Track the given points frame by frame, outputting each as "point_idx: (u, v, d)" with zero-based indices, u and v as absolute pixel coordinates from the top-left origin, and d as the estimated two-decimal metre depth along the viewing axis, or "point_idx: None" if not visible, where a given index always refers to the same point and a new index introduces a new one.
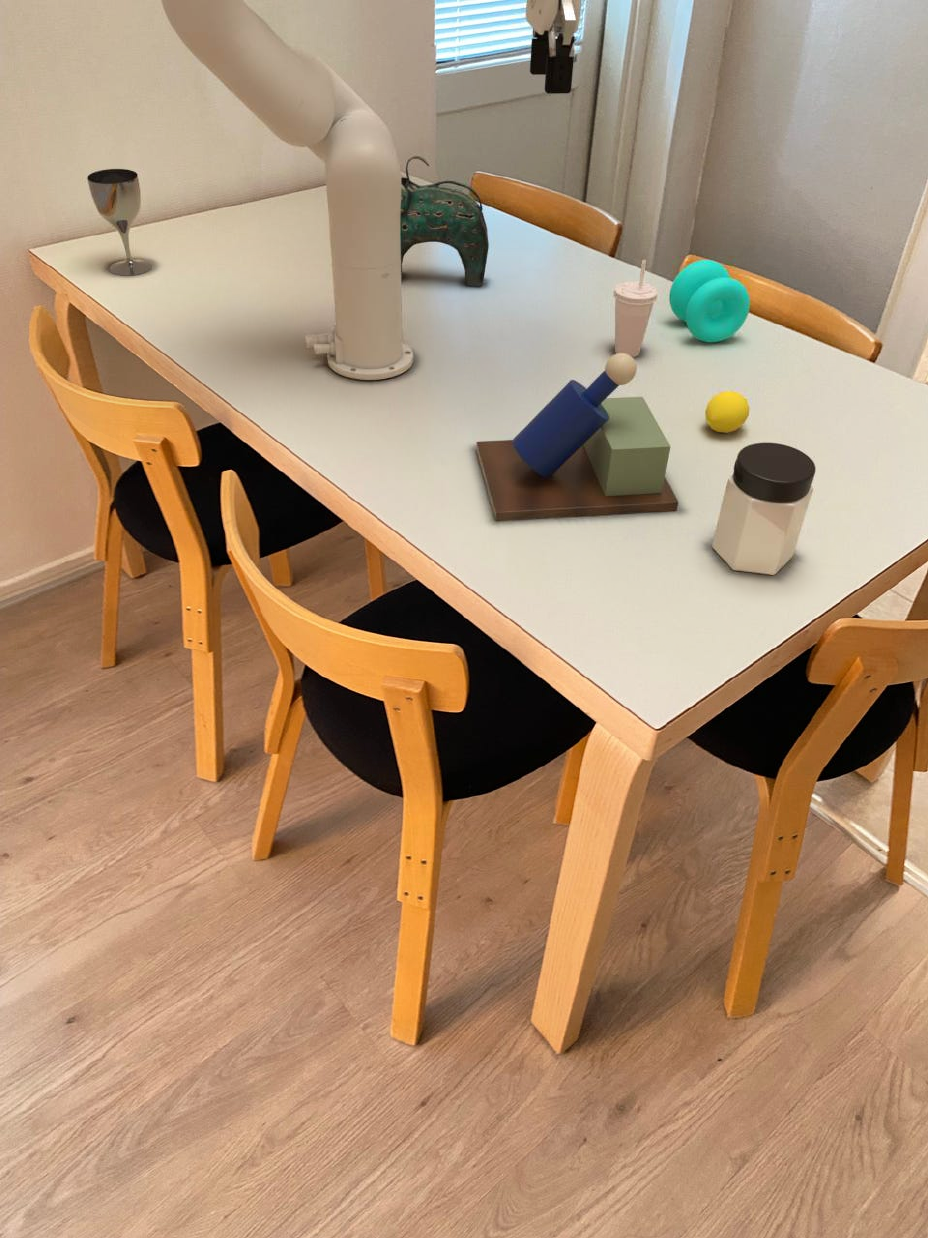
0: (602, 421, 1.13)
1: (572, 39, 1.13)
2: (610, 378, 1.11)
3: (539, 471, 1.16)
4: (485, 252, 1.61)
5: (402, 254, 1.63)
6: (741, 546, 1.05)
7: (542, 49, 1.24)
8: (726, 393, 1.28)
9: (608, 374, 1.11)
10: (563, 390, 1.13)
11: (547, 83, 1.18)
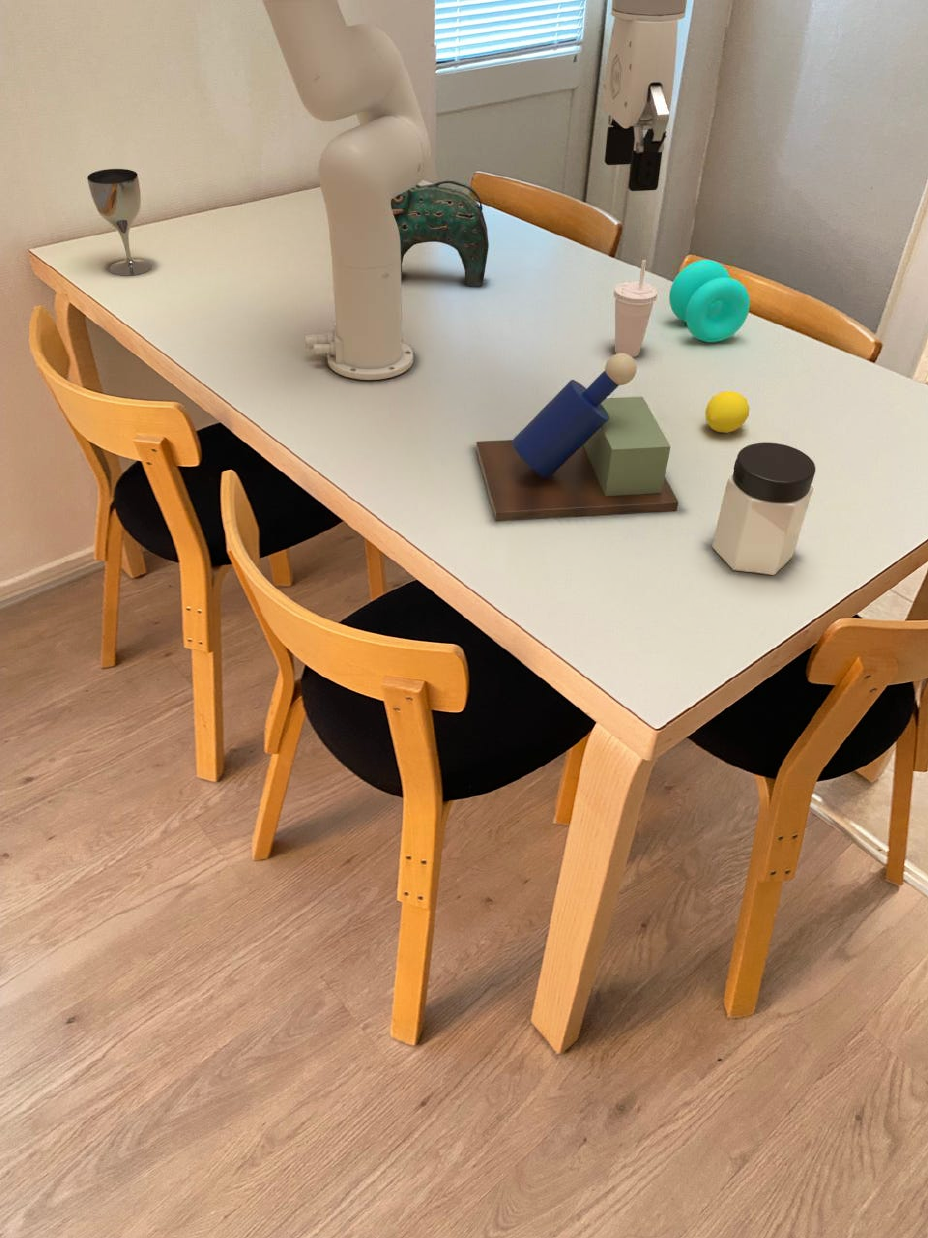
0: (602, 421, 1.13)
1: (663, 135, 1.00)
2: (610, 378, 1.11)
3: (539, 471, 1.16)
4: (485, 252, 1.61)
5: (402, 254, 1.63)
6: (741, 546, 1.05)
7: (619, 138, 1.11)
8: (726, 393, 1.28)
9: (608, 374, 1.11)
10: (563, 390, 1.13)
11: (632, 180, 1.05)
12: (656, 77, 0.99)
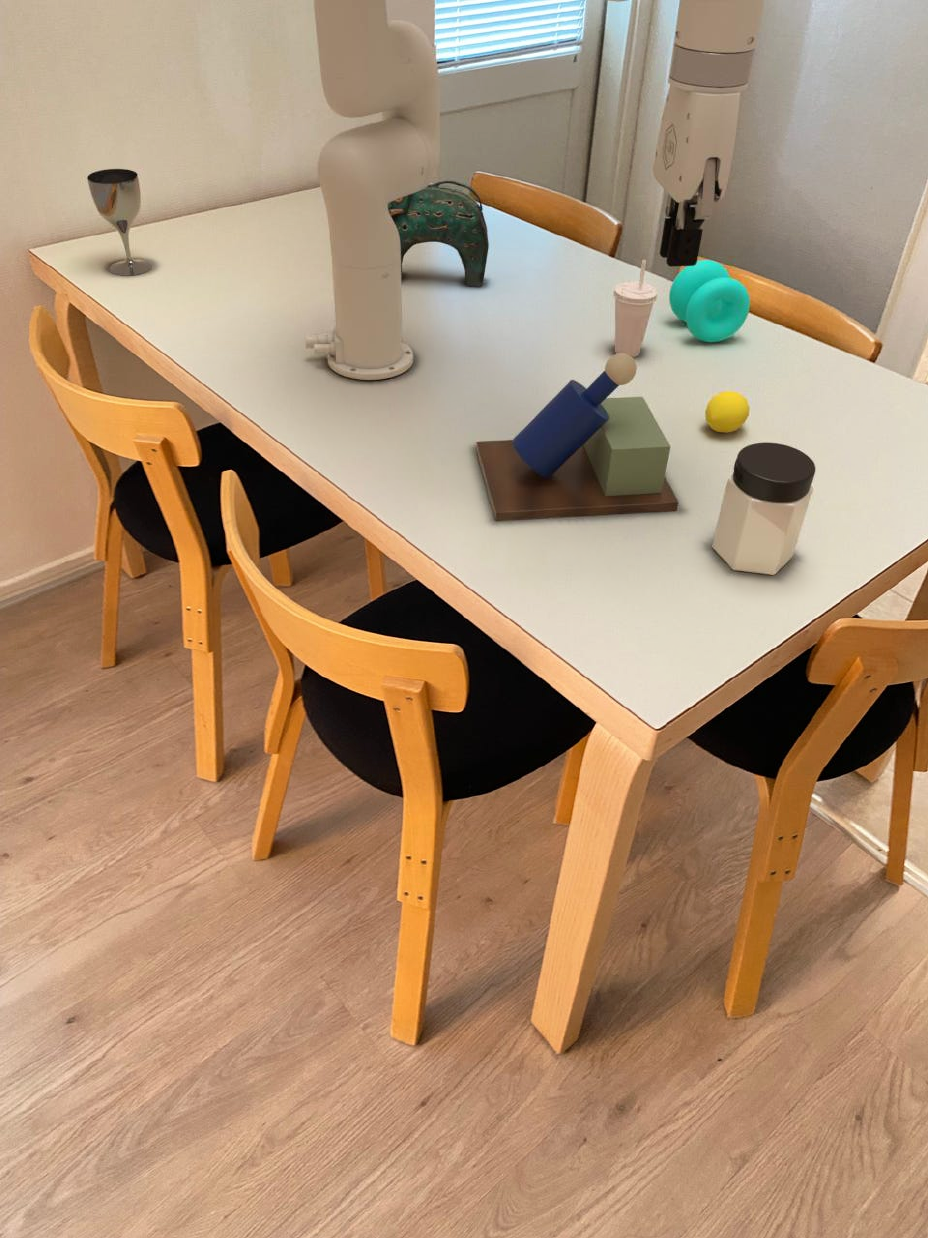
0: (602, 421, 1.13)
1: None
2: (610, 378, 1.11)
3: (539, 471, 1.16)
4: (485, 252, 1.61)
5: (402, 254, 1.63)
6: (741, 546, 1.05)
7: None
8: (726, 393, 1.28)
9: (608, 374, 1.11)
10: (563, 390, 1.13)
11: (670, 256, 1.02)
12: (714, 152, 0.92)
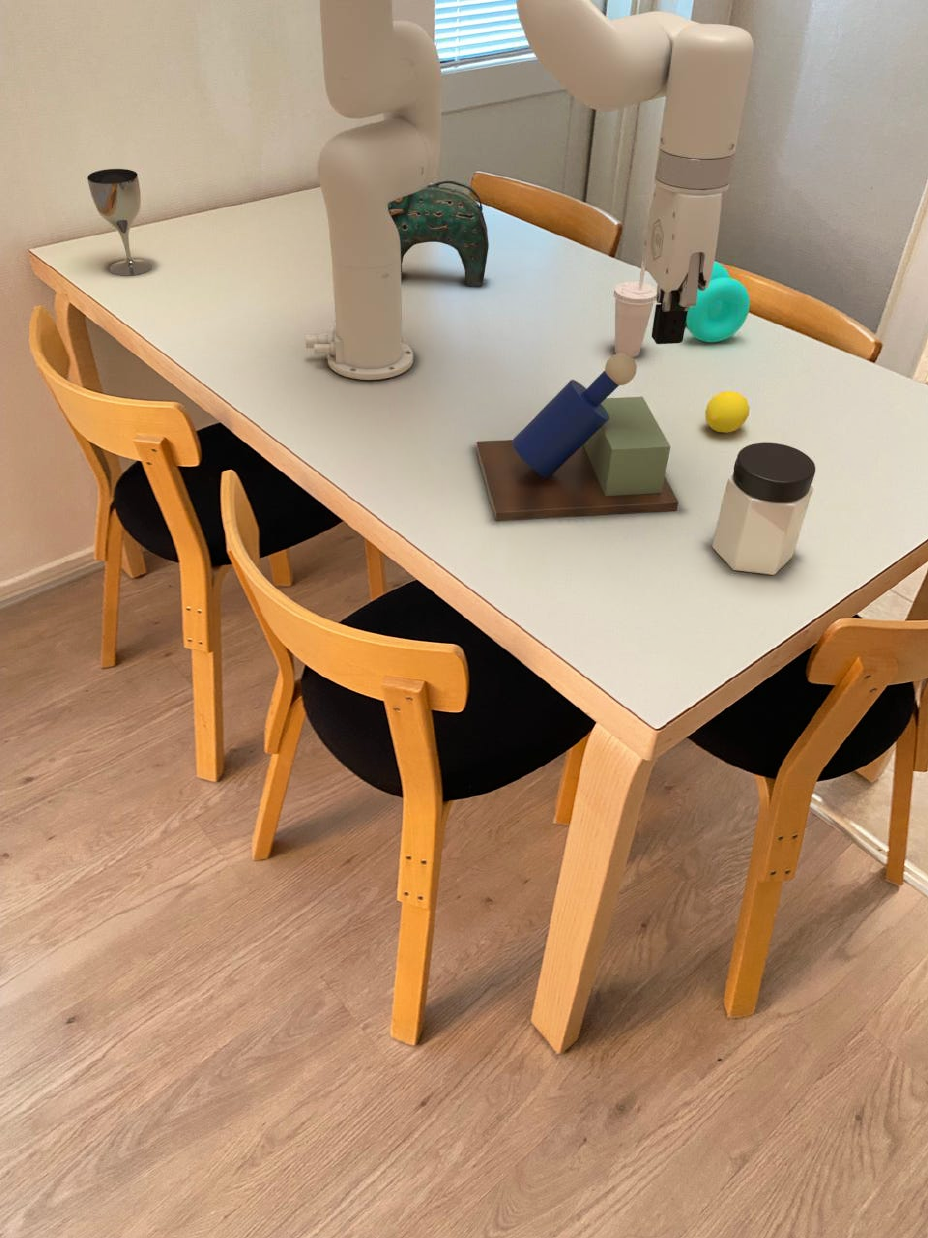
0: (602, 421, 1.13)
1: None
2: (610, 378, 1.11)
3: (539, 471, 1.16)
4: (485, 252, 1.61)
5: (402, 254, 1.63)
6: (741, 546, 1.05)
7: None
8: (726, 393, 1.28)
9: (608, 374, 1.11)
10: (563, 390, 1.13)
11: (657, 335, 1.09)
12: (699, 247, 0.98)
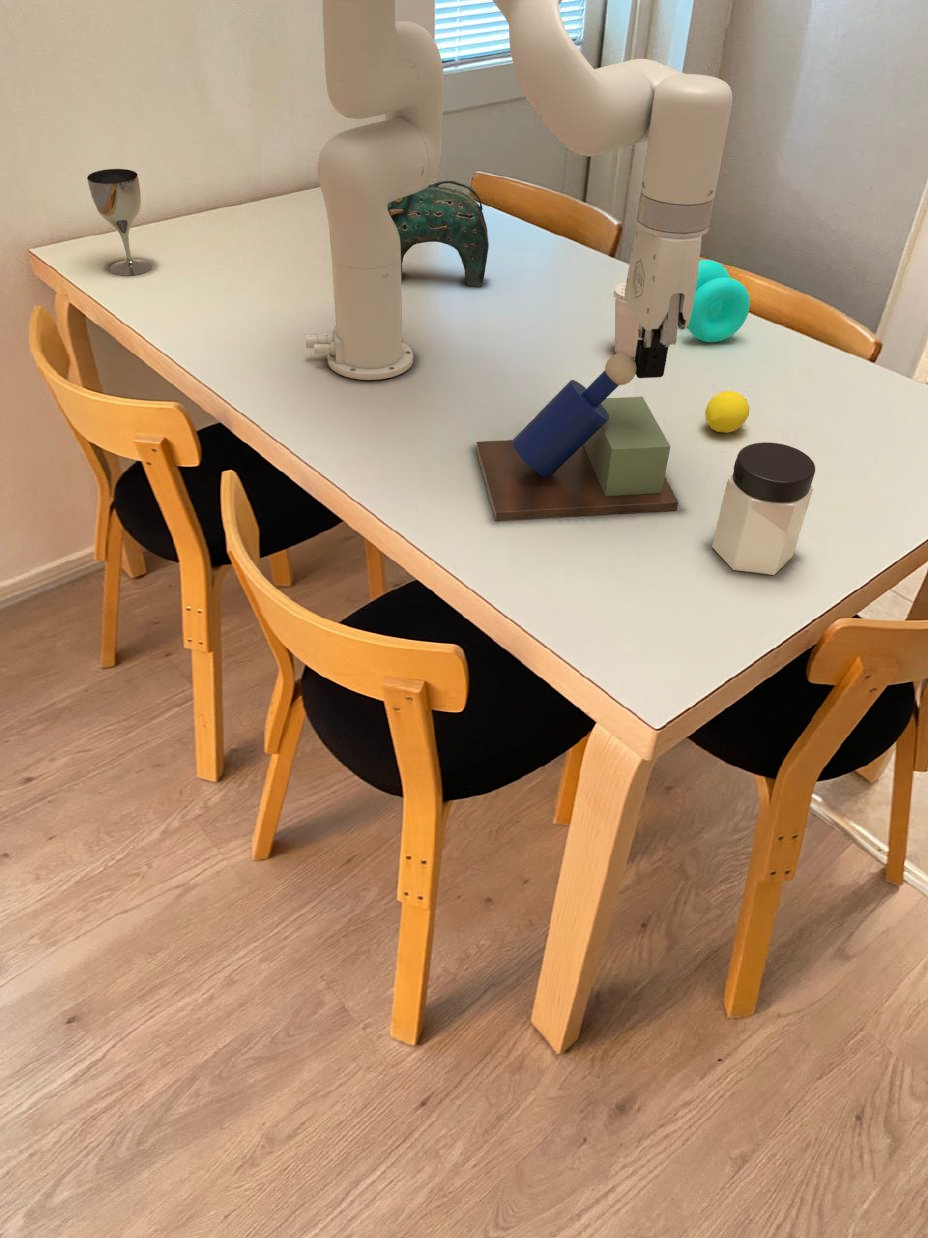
0: (602, 421, 1.13)
1: None
2: (610, 378, 1.11)
3: (539, 471, 1.16)
4: (485, 252, 1.61)
5: (402, 254, 1.63)
6: (741, 546, 1.05)
7: None
8: (726, 393, 1.28)
9: (608, 374, 1.11)
10: (563, 390, 1.13)
11: (639, 369, 1.11)
12: (678, 289, 1.01)
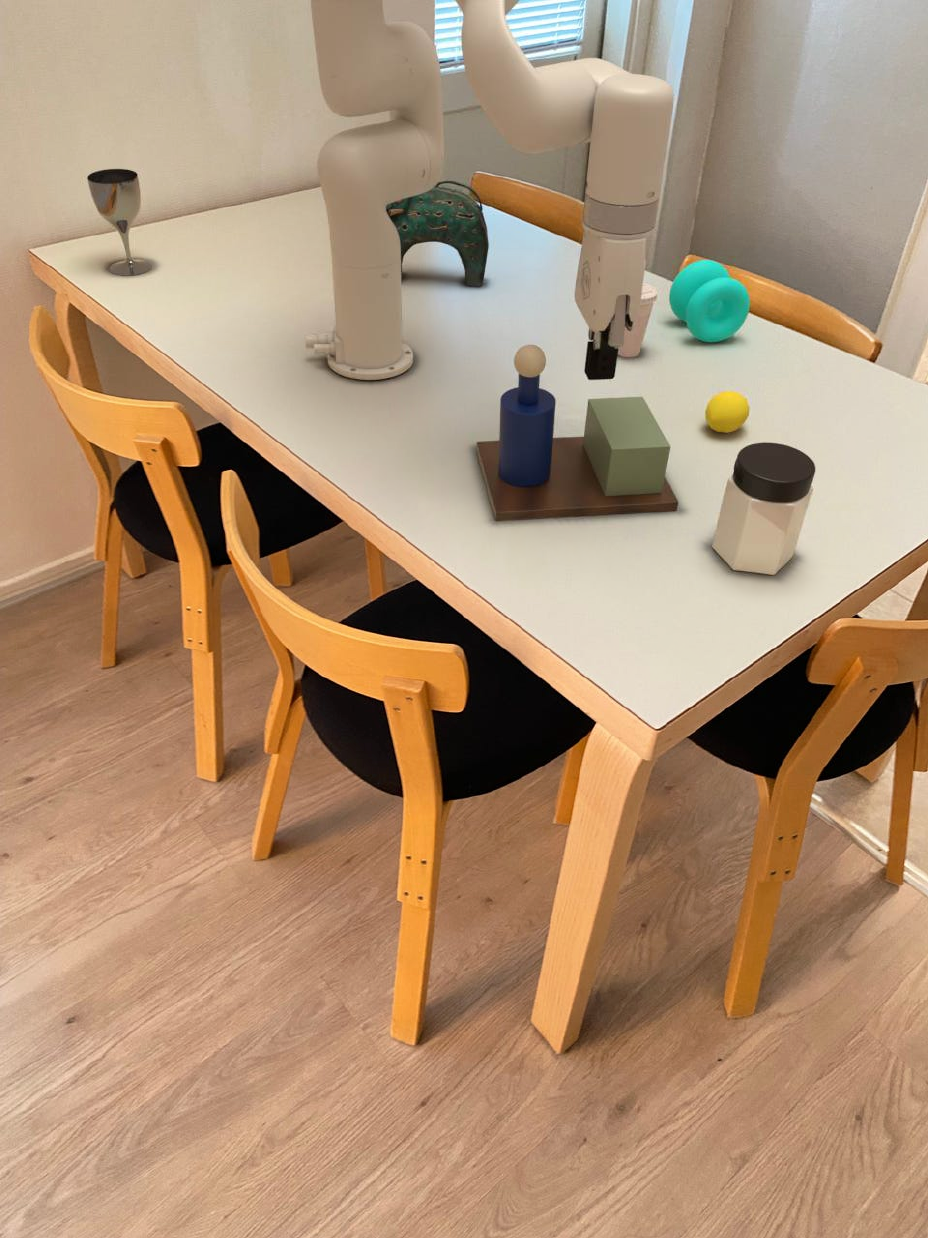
0: (546, 414, 1.11)
1: None
2: (526, 376, 1.09)
3: (530, 484, 1.17)
4: (485, 252, 1.61)
5: (402, 254, 1.63)
6: (741, 546, 1.05)
7: None
8: (726, 393, 1.28)
9: (521, 374, 1.09)
10: (500, 409, 1.13)
11: (589, 371, 1.11)
12: (624, 290, 1.00)
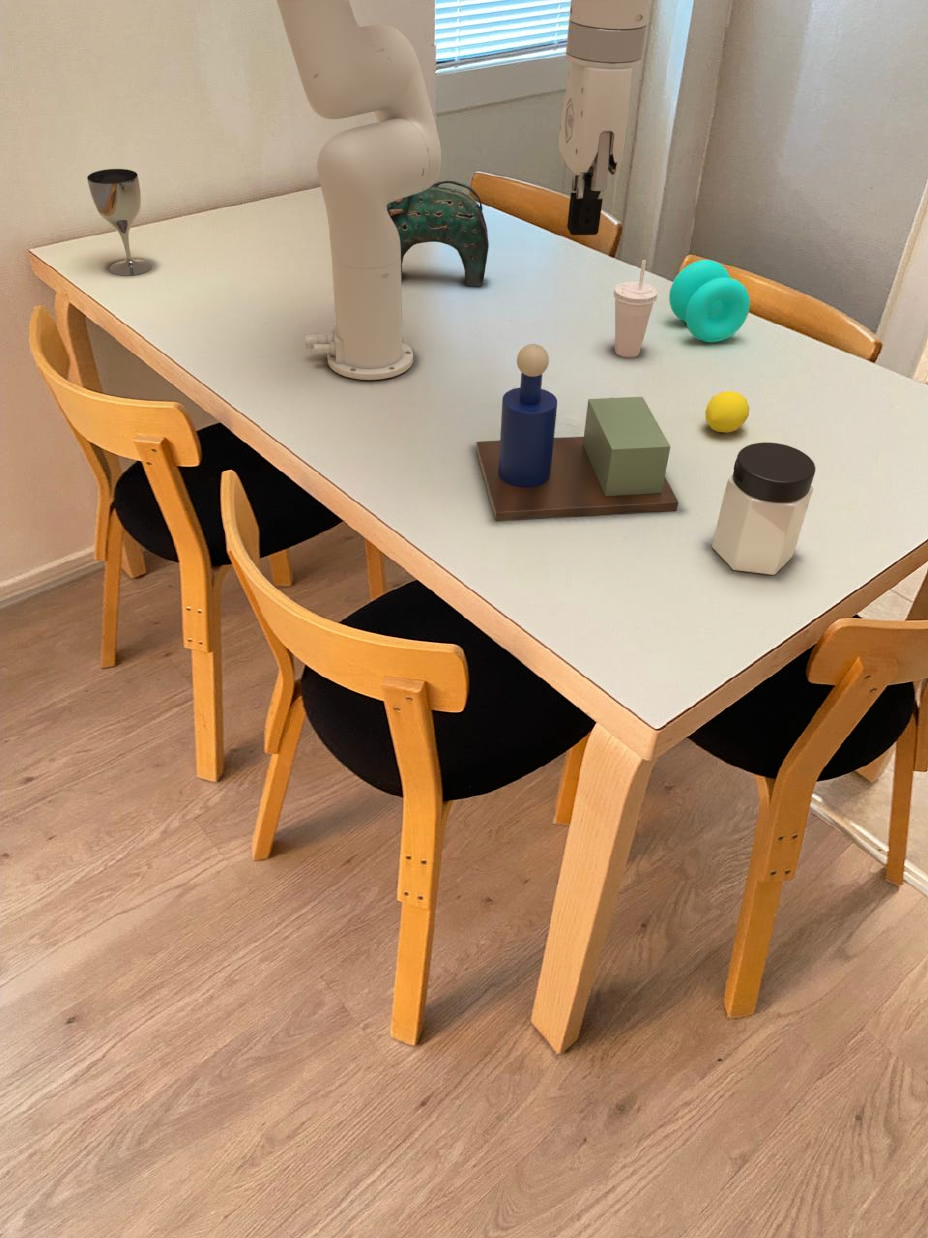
0: (548, 414, 1.11)
1: None
2: (528, 375, 1.10)
3: (530, 485, 1.17)
4: (485, 252, 1.61)
5: (402, 254, 1.63)
6: (741, 546, 1.05)
7: None
8: (726, 393, 1.28)
9: (524, 373, 1.10)
10: None
11: (572, 224, 1.06)
12: (608, 126, 0.96)
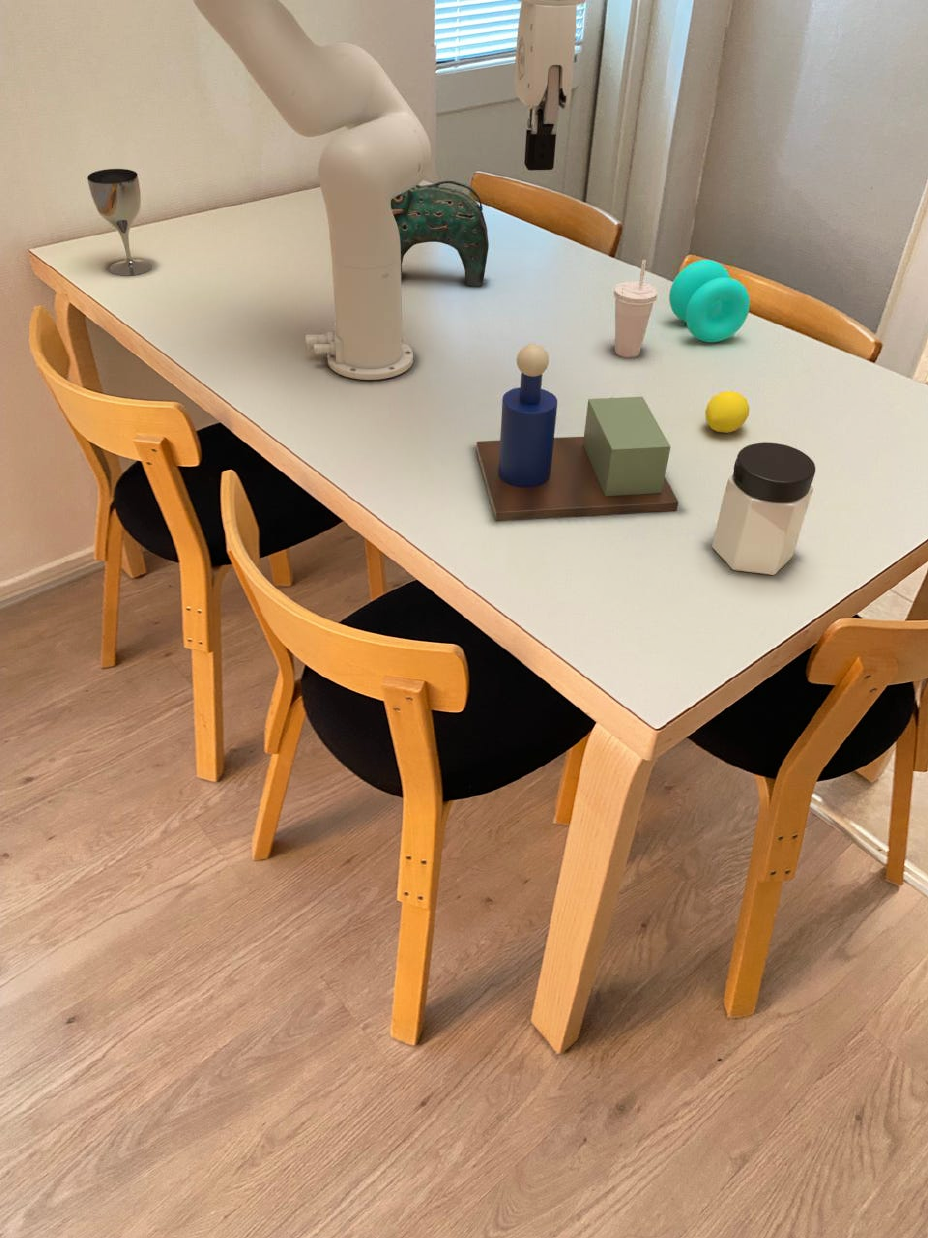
0: (548, 414, 1.11)
1: None
2: (528, 375, 1.10)
3: (530, 485, 1.17)
4: (485, 252, 1.61)
5: (402, 254, 1.63)
6: (741, 546, 1.05)
7: None
8: (726, 393, 1.28)
9: (524, 373, 1.10)
10: None
11: (528, 160, 1.13)
12: (556, 60, 1.03)
